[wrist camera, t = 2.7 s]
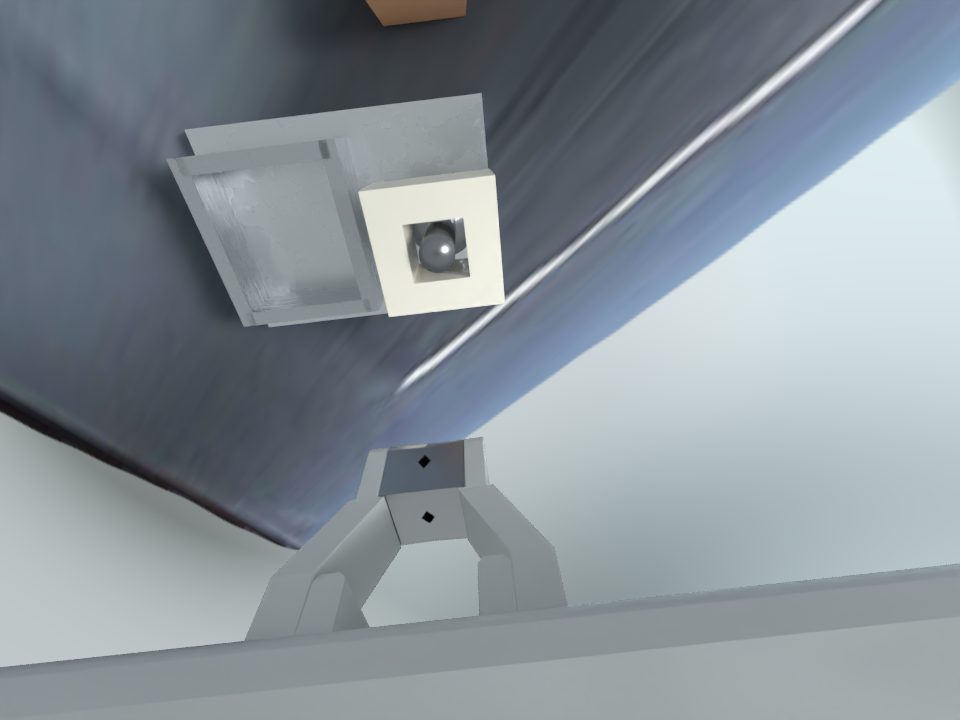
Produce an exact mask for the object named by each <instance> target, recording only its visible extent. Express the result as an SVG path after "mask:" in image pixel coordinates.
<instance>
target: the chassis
mask: <svg viewBox="0 0 960 720" xmlns="http://www.w3.org/2000/svg"><path fill="white" fill-rule="evenodd" d="M185 132H186V135H187V137H188V139H189V142H190V144H191V146H192V149H193V151H194V153H195V155H194V156H186V157H178V158H170V159H166V160H167V162H168V164H169V167H170V169H171V171H172V173H173V175H174V177H175V179H176V182H177V184H178V186H179V188H180V190H181V192H182V195H183V197H184V199H185V201H186V203H187V205H188V207H189V210H190V212H191V214H192V216H193V218H194V220H195V222H196V225H197V227H198V229H199V231H200V233H201V235H202V238H203V240H204V242H205V244H206V246H207V248H208V250H209V253H210V255H211V257H212V259H213V261H214V263H215V265H216V268H217V270H218V272H219V274H220V276H221V278H222V281H223V283H224V285H225V287H226V289H227V291H228V293H229V296H230V298H231V300H232V302H233V304H234V306H235V308H236V311H237V313H238V315H239V317H240V319H241V321H242V324H243V326H244V327H246V326H254V325H263V324H268V326H269V327H275V326H283V325H292V324H300V323H309V322H317V321H326V320H334V319H343V318H351V317H360V316H368V315H377V314H385V313H388V311H387V307H386V303H385V299H384V295H383V291H382V287H381V282H380V278H379V274H378V270H377V266H376V262H375V258H374V254H373V250H372V246H371V242H370V238H369V234H368V230H367V226H366V222H365V218H364V214H363V210H362V206H361V201H360V197H359V193H358V191H360V190H362V189H363V188H365V187H366V186H368V185H370V184H371V183H374V182H383V181H391V180H399V179H408V178H416V177H424V176H432V175H441V174H449V173H457V172H465V171H474V170H482V169H488V164H487V152H486V140H485V129H484V117H483V105H482V93H478V94H470V95H462V96H454V97H446V98H438V99H430V100H421V101H413V102H405V103H397V104H389V105H381V106H372V107H364V108H356V109H348V110H340V111H332V112H324V113H315V114H307V115H299V116H291V117H283V118H275V119H267V120H258V121H250V122H242V123H234V124H226V125H218V126H210V127H201V128H193V129H185ZM412 226H413V232H414V237H415V242H416V248H417V253H418V258H419V264H422V266H423V267H424V268H425V269H426V270H428V271H430V272H433V273H443V272H445V271H447V270H449V269H450V268H451V267H452V265H453V263H454V261H455V259H463V258H468V253H467V245H466V237H465V228H464V220H463V218H457V219H448V220H440V221H432V222H423V223H415V224H412Z"/></svg>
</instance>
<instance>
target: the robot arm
mask: <svg viewBox="0 0 960 720" xmlns="http://www.w3.org/2000/svg"><path fill="white" fill-rule="evenodd" d="M462 538H468V540H469V542H470V543H471V545H472V546H473V548H474V549H475V551H476V552H477V553H478V555H479V557H480V558H481V560H480V561H479V562H478V590H479V616H472V617H462V618H453V619H444V620H435V621H426V622H417V623H407V624H398V625H389V626H380V627H369V625H368V623H367V621H366V619H365V617H364V615H363V613H362V611H361V608H362V607H363V605H364V603H365V602H366V600H367V599H368V597H369V596H370V594H371V593H372V591H373V590H374V588H375V587H376V585H377V584H378V582H379V581H380V579H381V577H382V576H383V575H384V573H385V571H386V570H387V568H388V567H389V565H390V564H391V562H392V561H393V559H394V558H395V556H396V555H397V553H398V552H399V550H400V549H401V545H407V544H414V543H421V542H429V541H434V540H435V541H437V540H448V539H462ZM0 720H960V564H952V565H943V566H933V567H924V568H915V569H905V570H896V571H887V572H878V573H869V574H859V575H850V576H842V577H832V578H823V579H813V580H804V581H795V582H786V583H776V584H767V585H758V586H748V587H739V588H730V589H722V590H711V591H703V592H693V593H684V594H675V595H666V596H656V597H647V598H638V599H628V600H619V601H610V602H601V603H591V604H582V605H573V606H568V604H567V600H566V595H565V591H564V587H563V582H562V578H561V574H560V569H559V565H558V561H557V557H556V552H555V548H554V547H553V546H552V545H551V544H550V543H549V542H548V540H546V538H545V537H544V536H543V535H542V534H541V533H540V532H539V531H538V530H537V529H536V528H535V527H534V526H533V525H532V524H531V523H530V522H529V521H528V520H527V519H526V518H525V517H524V516H523V515H522V514H521V512H520V511H519V510H517V508H516V507H515V506H513V504H512V503H511V502H510V501H509V500H508V499H507V498H506V497H505V496H504V495H503V494H502V493H501V492H500V491H499V490H498V489H497V488H496V487H495V486H494V485H493V484H492V485H489V478H488V469H487V461H486V454H485V445H484V439H483V437H479V438H470V439H464V440H457V441H448V442H440V443H432V444H423V445H411V446H400V447H390V448H382V449H371V451H370V452H369V453H368V456H367V460H366V463H365V467H364V470H363V474H362V478H361V481H360V485H359V488H358V492H357V495H356V499H355V500H349V501H348V502H347V503H346V504H345V505H344V506H343V507H342V508H341V509H340V510H339V511H338V512H337V513H336V514H335V515H334V516H333V517H332V518H331V519H330V520H329V521H328V522H327V523H326V524H325V525H324V526H323V527H322V528H321V529H320V530H319V531H318V532H317V533H316V534H315V535H314V536H313V537H312V538H311V539H310V540H309V541H308V542H307V543H306V544H305V545H304V546H303V547H302V548H301V549H300V550H299V551H298V552H297V553H296V554H295V555H294V556H293V557H292V558H291V559H290V560H289V561H288V562H286V564H284V566H283V567H282V568H280V569H279V570H278V571H277V572H276V573H275V574H274V575H273V576H272V577H271V579H270V581H269V584H268V586H267V588H266V591H265V593H264V596H263V598H262V601H261V603H260V605H259V607H258V610H257V612H256V615H255V617H254V619H253V622H252V624H251V626H250V629H249V631H248V633H247V636H246V638H245V641H241V642H232V643H222V644H214V645H204V646H196V647H185V648H176V649H167V650H158V651H149V652H139V653H130V654H121V655H111V656H102V657H92V658H83V659H74V660H65V661H56V662H46V663H37V664H27V665H18V666H9V667H0Z"/></svg>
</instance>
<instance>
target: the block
mask: <svg viewBox="0 0 960 720" xmlns="http://www.w3.org/2000/svg"><path fill="white" fill-rule="evenodd" d="M366 2H367V3H368V5H369V6H370V7H371V9H372V10H373V12H374V13H375V15H376V16H377V18H378V19H379V20H380V22H381V23H382V25H383V26H390V25H398V24H406V23H414V22H422V21H430V20H438V19H446V18H454V17H462V16H465V15H466V3H467V0H366Z"/></svg>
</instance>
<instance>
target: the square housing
mask: <svg viewBox="0 0 960 720" xmlns="http://www.w3.org/2000/svg"><path fill="white" fill-rule="evenodd" d="M358 193H359V197H360V201H361V206H362V210H363V214H364V218H365V222H366V226H367V230H368V234H369V238H370V242H371V246H372V250H373V254H374V258H375V262H376V266H377V270H378V274H379V278H380V282H381V287H382V291H383V295H384V299H385V303H386V307H387V311H388V315H389V317H394V316H402V315H411V314H419V313H428V312H436V311H445V310H453V309H462V308H470V307H479V306H487V305H495V304H504V303H505V299H504V286H503V273H502V260H501V247H500V234H499V220H498V207H497V194H496V181H495V174H494V173H493V172H492V171H491V170H490V169H482V170H474V171H465V172H457V173H449V174H441V175H432V176H424V177H416V178H408V179H399V180H391V181H383V182H374V183H371V184H370V185H368V186H366V187H365V188H363V189H362V190H360V191H358ZM457 218H463V220H464V228H465V237H466V245H467V253H468V258H463V259H455V261H454V263H453V265H452V267H451V268H450V269H449V270H447V271H445V272H443V273H433V272H430V271H428V270H426V269H425V268H424V267H423V266H422V264H419V258H418V253H417V248H416V242H415V237H414V232H413V226H412V224H415V223H423V222H432V221H440V220H448V219H457Z"/></svg>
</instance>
